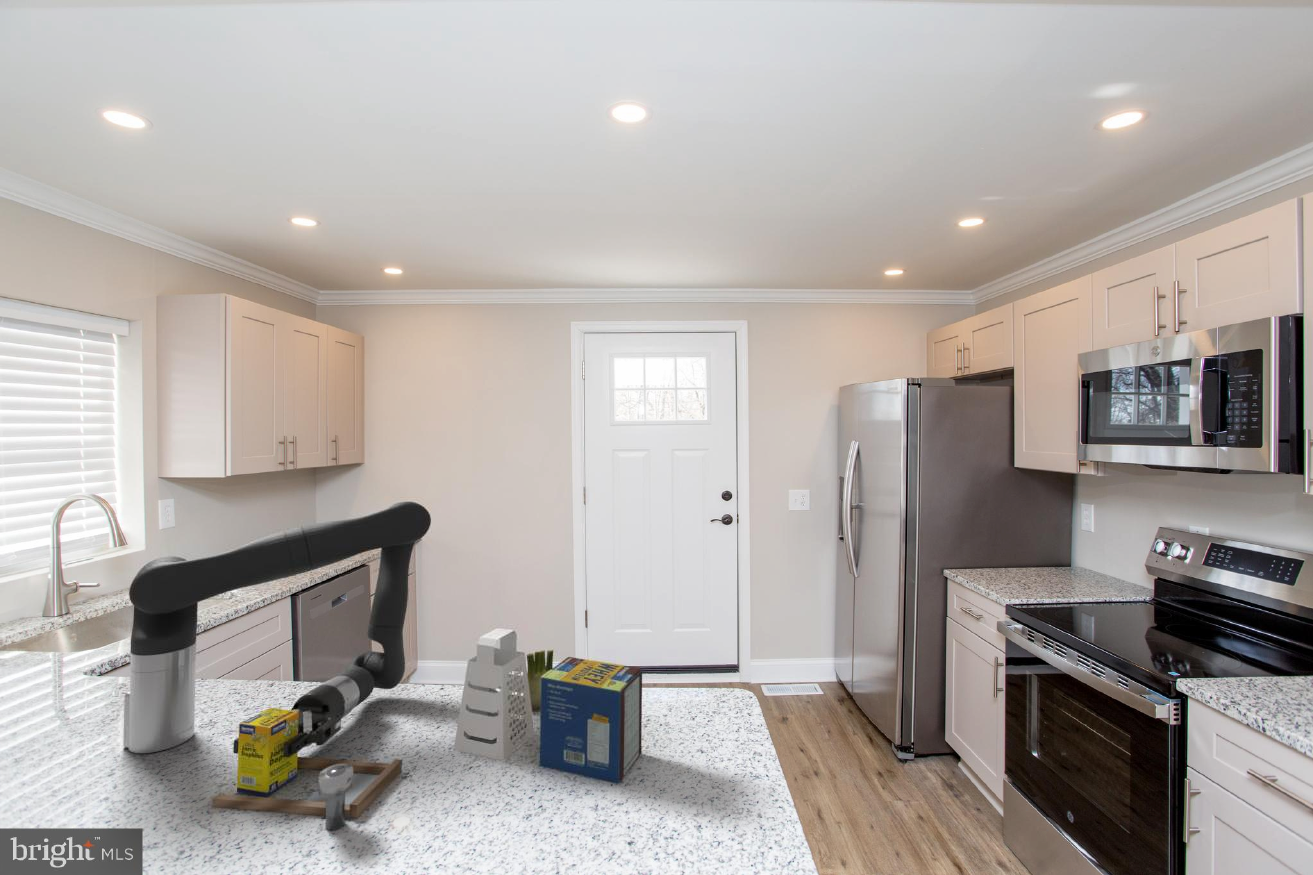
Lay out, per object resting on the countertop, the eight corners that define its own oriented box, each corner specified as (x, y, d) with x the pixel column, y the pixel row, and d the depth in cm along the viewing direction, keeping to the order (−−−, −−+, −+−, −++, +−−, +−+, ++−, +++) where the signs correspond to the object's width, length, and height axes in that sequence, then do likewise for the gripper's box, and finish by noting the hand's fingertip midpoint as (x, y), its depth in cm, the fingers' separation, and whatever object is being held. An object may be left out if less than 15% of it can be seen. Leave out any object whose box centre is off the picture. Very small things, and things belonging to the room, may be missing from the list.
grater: (534, 732, 112) (536, 628, 113) (503, 760, 103) (505, 646, 103) (488, 723, 116) (490, 622, 116) (453, 749, 106) (455, 638, 106)
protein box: (566, 737, 111) (567, 655, 111) (642, 753, 106) (643, 667, 106) (537, 766, 101) (539, 676, 101) (619, 785, 96) (621, 690, 96)
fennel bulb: (553, 702, 126) (554, 646, 126) (552, 713, 121) (553, 654, 121) (525, 703, 125) (526, 647, 125) (523, 714, 120) (524, 655, 120)
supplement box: (267, 798, 91) (269, 727, 91) (235, 792, 92) (237, 723, 92) (298, 776, 97) (300, 710, 97) (267, 772, 98) (269, 706, 98)
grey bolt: (310, 834, 83) (311, 777, 83) (330, 814, 87) (331, 760, 87) (339, 836, 82) (340, 779, 82) (358, 816, 87) (359, 762, 87)
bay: (212, 806, 89) (212, 793, 89) (273, 761, 101) (273, 750, 101) (357, 818, 86) (357, 804, 86) (401, 771, 99) (401, 759, 99)
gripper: (292, 681, 109) (219, 723, 93) (364, 686, 108) (302, 728, 92) (291, 721, 109) (218, 770, 93) (363, 726, 108) (301, 776, 92)
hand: (260, 749), depth 93 cm, fingers open, 8 cm apart
